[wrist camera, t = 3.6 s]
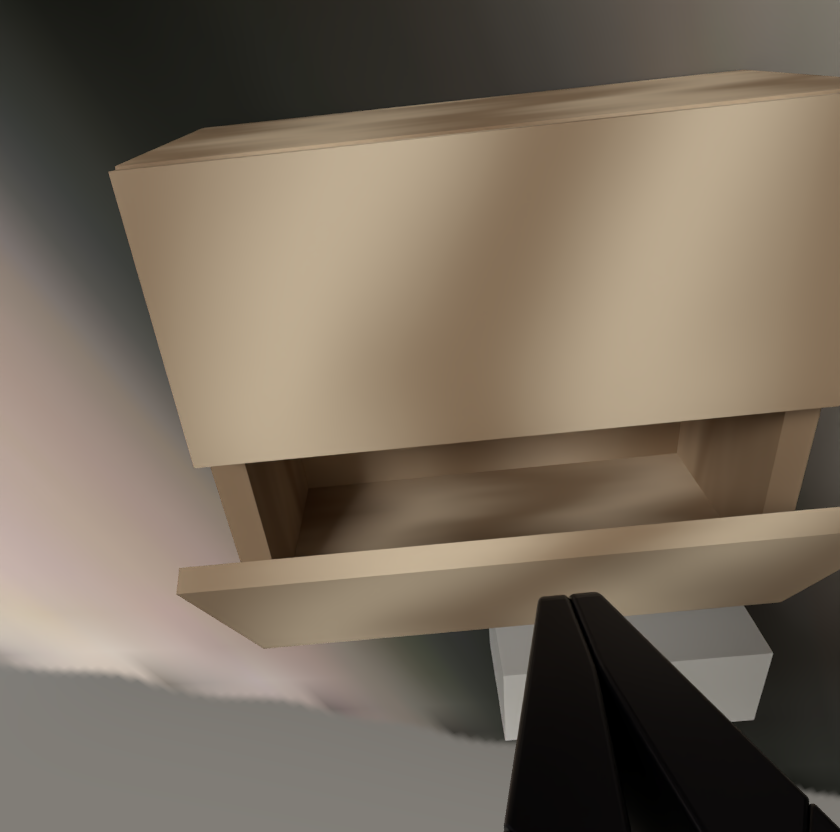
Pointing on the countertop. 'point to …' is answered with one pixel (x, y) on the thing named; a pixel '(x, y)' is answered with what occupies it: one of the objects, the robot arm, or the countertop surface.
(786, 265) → the flap
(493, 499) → the cardboard box
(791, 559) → the flap
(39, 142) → the countertop surface
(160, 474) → the countertop surface
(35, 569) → the countertop surface
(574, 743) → the robot arm
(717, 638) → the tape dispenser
